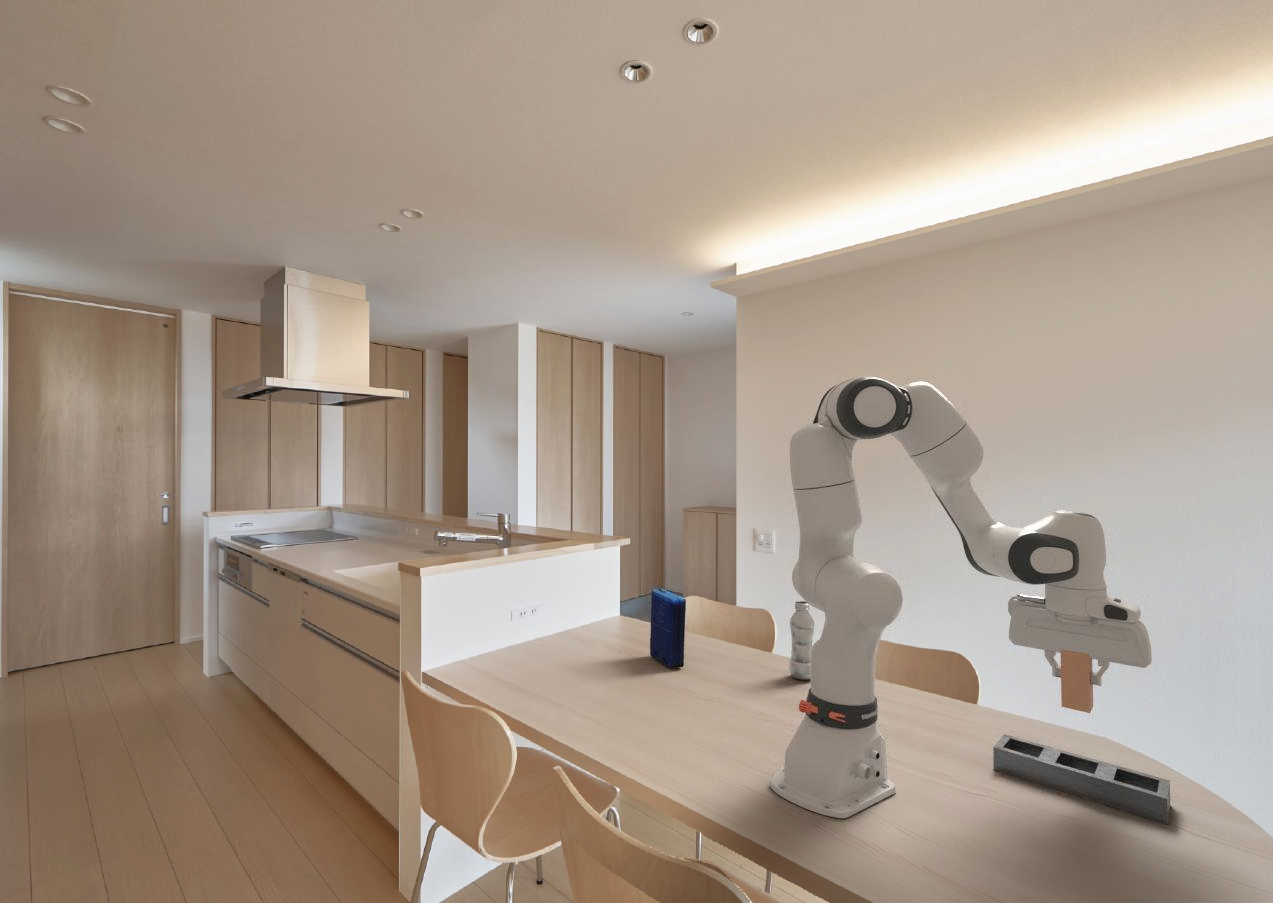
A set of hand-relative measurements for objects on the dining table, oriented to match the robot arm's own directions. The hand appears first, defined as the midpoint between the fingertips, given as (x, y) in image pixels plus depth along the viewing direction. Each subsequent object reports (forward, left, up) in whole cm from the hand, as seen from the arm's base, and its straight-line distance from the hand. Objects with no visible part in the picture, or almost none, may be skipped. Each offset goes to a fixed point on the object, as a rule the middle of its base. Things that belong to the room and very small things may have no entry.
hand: (1076, 680), depth 104 cm
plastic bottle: (+14, +61, -19) cm, 65 cm away
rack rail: (0, 0, -18) cm, 18 cm away
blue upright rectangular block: (-3, +94, -19) cm, 96 cm away
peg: (0, 0, -5) cm, 5 cm away
